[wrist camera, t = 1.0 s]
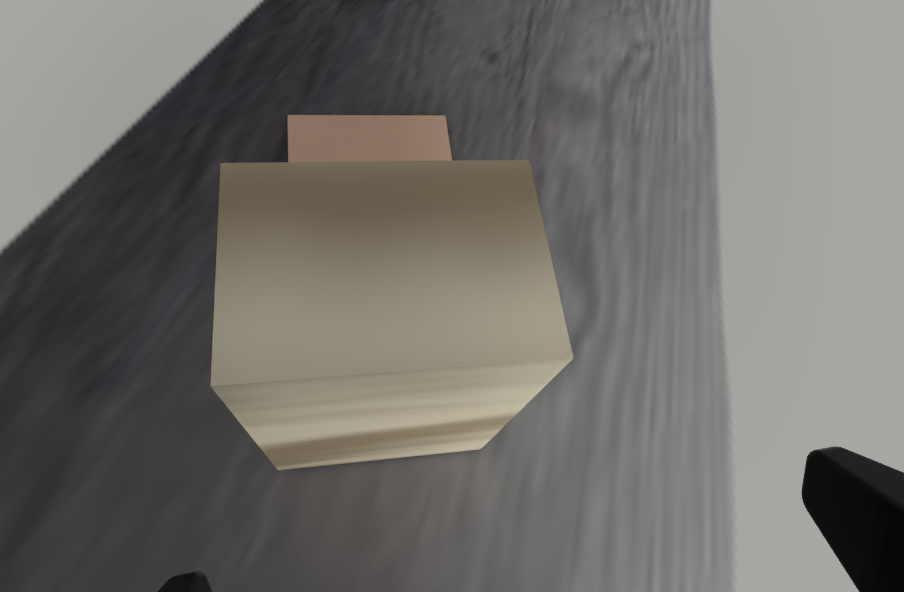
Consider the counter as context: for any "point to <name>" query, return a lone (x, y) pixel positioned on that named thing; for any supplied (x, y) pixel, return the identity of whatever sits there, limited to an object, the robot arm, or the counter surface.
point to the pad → (367, 138)
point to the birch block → (381, 306)
